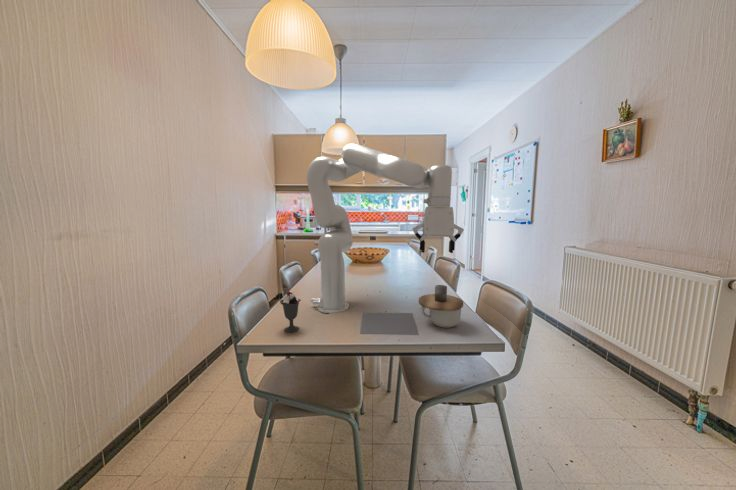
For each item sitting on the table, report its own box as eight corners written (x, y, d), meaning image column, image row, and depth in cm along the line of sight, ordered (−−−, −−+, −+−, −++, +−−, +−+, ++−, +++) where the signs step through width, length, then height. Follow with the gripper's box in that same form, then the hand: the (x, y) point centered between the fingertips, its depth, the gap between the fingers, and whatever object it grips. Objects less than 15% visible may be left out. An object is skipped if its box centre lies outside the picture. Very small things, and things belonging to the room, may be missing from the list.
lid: (421, 310, 93) (421, 292, 92) (416, 296, 108) (416, 280, 107) (468, 311, 92) (469, 293, 91) (457, 296, 107) (457, 281, 106)
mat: (359, 335, 93) (359, 333, 93) (363, 313, 112) (363, 312, 112) (418, 336, 92) (419, 334, 92) (412, 314, 111) (412, 313, 111)
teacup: (457, 319, 106) (458, 298, 105) (464, 332, 95) (465, 309, 94) (419, 318, 107) (419, 297, 106) (421, 330, 96) (422, 307, 95)
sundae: (284, 325, 101) (283, 283, 99) (303, 325, 100) (302, 283, 98) (278, 333, 94) (276, 289, 92) (298, 333, 94) (297, 289, 92)
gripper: (414, 202, 95) (412, 253, 97) (467, 202, 94) (464, 254, 96) (412, 202, 102) (410, 250, 104) (461, 203, 101) (459, 251, 103)
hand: (436, 252), depth 100 cm, fingers open, 9 cm apart
